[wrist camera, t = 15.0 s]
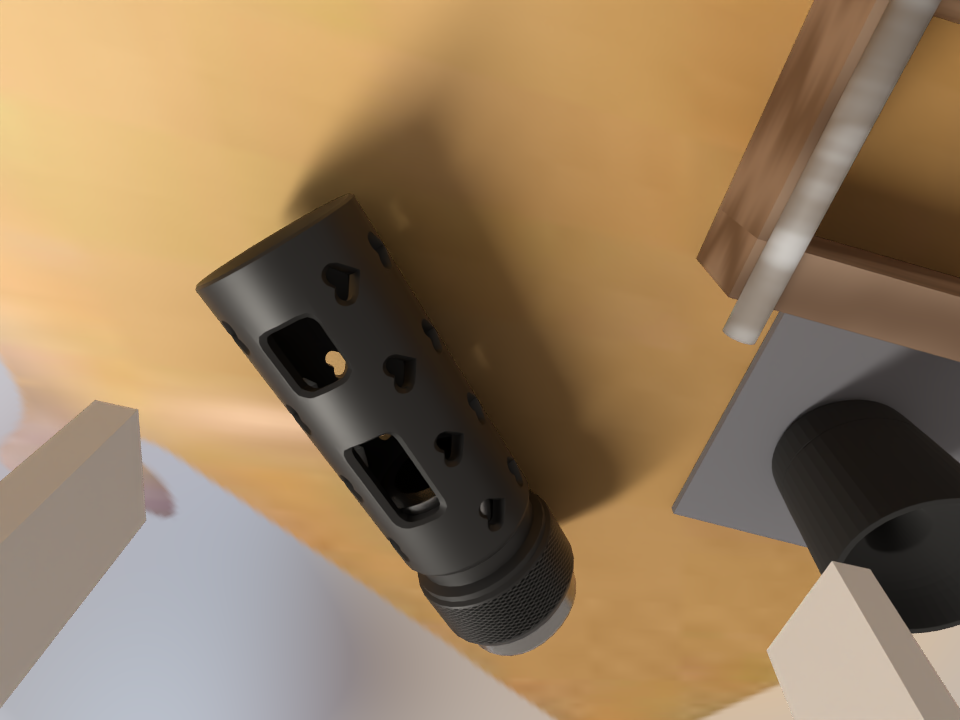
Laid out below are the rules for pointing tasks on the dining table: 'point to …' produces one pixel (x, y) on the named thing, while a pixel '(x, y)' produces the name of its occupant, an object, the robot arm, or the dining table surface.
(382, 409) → the muzzle brake
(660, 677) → the dining table surface
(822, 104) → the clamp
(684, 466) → the dining table surface
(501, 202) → the dining table surface
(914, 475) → the pen holder
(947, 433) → the mat
